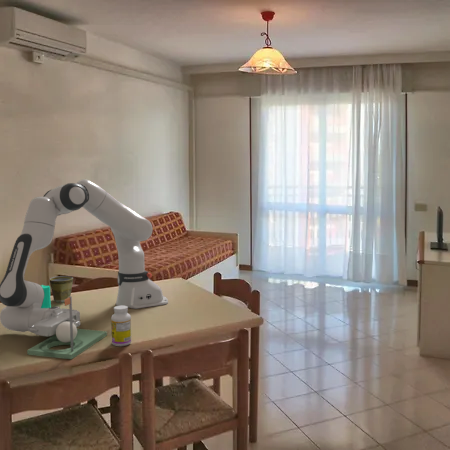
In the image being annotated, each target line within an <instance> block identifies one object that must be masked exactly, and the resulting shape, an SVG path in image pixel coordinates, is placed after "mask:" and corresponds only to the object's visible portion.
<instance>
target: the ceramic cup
mask: <svg viewBox="0 0 450 450" xmlns="http://www.w3.org/2000/svg"><path fill="white" fill-rule="evenodd" d="M48 280H49V286H50V290H51V293H52V294H51V295H52V299H53V301H54V302H55V303H65V299H67V298H69V296H71V293H72V287H73V281H74V277H72V276H69V275H59V276H52V277H51V278H49V279H48Z"/></svg>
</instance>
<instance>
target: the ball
mask: <svg viewBox="0 0 450 450" xmlns="http://www.w3.org/2000/svg"><path fill="white" fill-rule="evenodd" d="M77 329H78V327H76V326H75V325H74V324H73V340H74V339H75V337H76V335H77ZM56 336H57V338H58V339H59V340H60V341H61V342H65V343H67V342H71V338H70V322H68V321H66V322H62V323H61V324H59V325H58V327H57V329H56Z"/></svg>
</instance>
